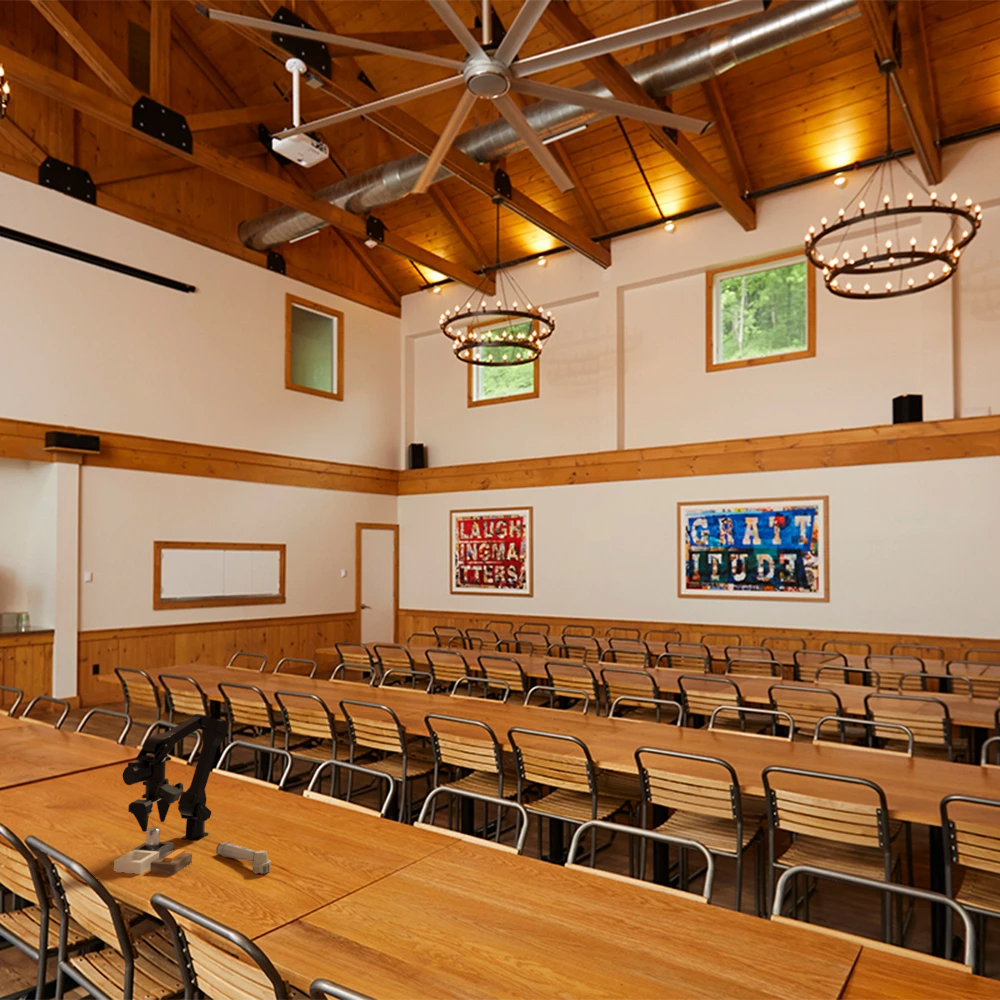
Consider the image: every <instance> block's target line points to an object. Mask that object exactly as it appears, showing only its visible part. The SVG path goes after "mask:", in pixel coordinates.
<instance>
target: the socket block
mask: <svg viewBox="0 0 1000 1000" xmlns="http://www.w3.org/2000/svg"><path fill="white" fill-rule="evenodd" d="M132 850H144V851H153V850H146V841H145V842H144V843H142V844H140V845H138V846H136V847H134V848H133V849H131V850H130V851H132ZM172 850H173V851H174V842H172V841H171V842H169V841H159V849H157V850H155V851H156V852H159V857H161V856H163V855H164V854H166V853H167V852H170V851H171V852H173V851H172Z"/></svg>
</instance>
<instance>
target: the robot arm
mask: <svg viewBox="0 0 1000 1000" xmlns="http://www.w3.org/2000/svg"><path fill="white" fill-rule="evenodd" d="M197 730H201V740H202V747H201V750H200V753H199V757H198V760H197V763H196V766H195V769H194V773H193V777H192V780H191V782H190V786H189V788H188V789H187V790H186V791H184V783H182V782H177V783H176V784H169V778H166V762H169V761H171V760H172V757H171V756H169V754H170V752H171V751H172V750H173V749H174V747H175V745H176V744H177V743H179V742H180V741H182V740H183V739H185V738H187V737H188V736H190V735H191V734H193V733H195V732H196V731H197ZM228 732H229V725H228V722H227V721H226V720H222V719H216V718H214V717H211V716H209V715H207V714H202V713H201V714H200V713H196V714H193V715H192V716H191V717H190V718H187V719H186V720H185V721H183V722H181V723H180V724H177V725H176V726H175V727H174V728H171V729H169V730H167V731H165V732H162V733H157V734H154V735H152V736H148V738H146V739H145V740H144V744H143V746H142V747H141V749H140V751H139V753H138V755H137V756H136V758H135V761H129V762H128V763H127V766H126V767H125V768H124V769H123V772H122V779H123V782H124V784H126V785H127V786H132V785H135V784H136V785H137V784H139V783H142V786H145V790H144V792H145V793H143V794H142V795H141V798H142V799H139V798H138V799H135V800H134V801H132V802H130V803H129V804H128V808H127V811H128V813H130V814H131V815H132V814H133V816H134V818H135V819H136V821H137V824H139V828H141V831H142V832H144V833H146V831H147V829H148V825H149V824H148V823H149V817H150V814H151V813H152V812H153V805H154V804H155V803H156V806H157V811H158V816H159V821H160V822H161V823H164V822H165V820H166V817H167V815H168V812H169V809H170V807H171V804H174V803H175V802H177V801H178V802H177V805H178V806H177V809H178V812H179V813H180V816H181V817H180V818H181V819H185V820H186V822H185V823H186V824H185V835H184V836H182V837H181V840H185V839H190V840H189V841H201V840H202V839H203V838H205V837H206V835H207V836H208V835H209V832H205V826H206V821H207V820H208V819H211V815H212V811H211V809H210V808H208V806H206V804H207V800H208V799H207V794H206V787H207V784H208V781H209V778H210V773H211V770H212V766H213V763H214V760H215V757H216V754H217V752H218V751H217V750H218V747H219V746H220V745H221V744H222V743H223V742H224V741H225V739H226V736H227V734H228ZM204 836H205V837H204ZM201 838H202V839H201Z"/></svg>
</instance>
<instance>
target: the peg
mask: <svg viewBox="0 0 1000 1000" xmlns="http://www.w3.org/2000/svg"><path fill="white" fill-rule="evenodd" d="M160 832H161V827H158V826H152V827H151V826H150V827H147V831H146V832H145V842H146V850H153V851H155V850H157V849H159V841H160V838H161V837H160V836H161V835H160V834H161V833H160ZM160 842H161V841H160Z"/></svg>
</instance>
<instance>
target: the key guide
mask: <svg viewBox="0 0 1000 1000" xmlns="http://www.w3.org/2000/svg"><path fill="white" fill-rule="evenodd" d="M173 852H174V851H171V852H167V853H166V854H164V855H163V856H161V857H159V858H158V859H156V860H154V861H153V862H151V866H150V869H149V870H150V871H149V872H151V873H153V874H162V875H163V874H165V875H172V874H173V876H174V875H176V874H177V873H179V872H180V871H182V870H184V869H185V868H186V867H188V866H189V865H191V864H192V861H193V853H191V852H189V853H188V852H185V853H184V854H183V855H181V856H180V857H178V858H176V859H175V860H173V861H172V862H170V863H167V862H165V857H166V856H168V855H170V854H171V853H173ZM190 863H191V864H190ZM187 865H188V866H187ZM184 867H185V868H184ZM178 871H179V872H178ZM151 873H150V874H151Z"/></svg>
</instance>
